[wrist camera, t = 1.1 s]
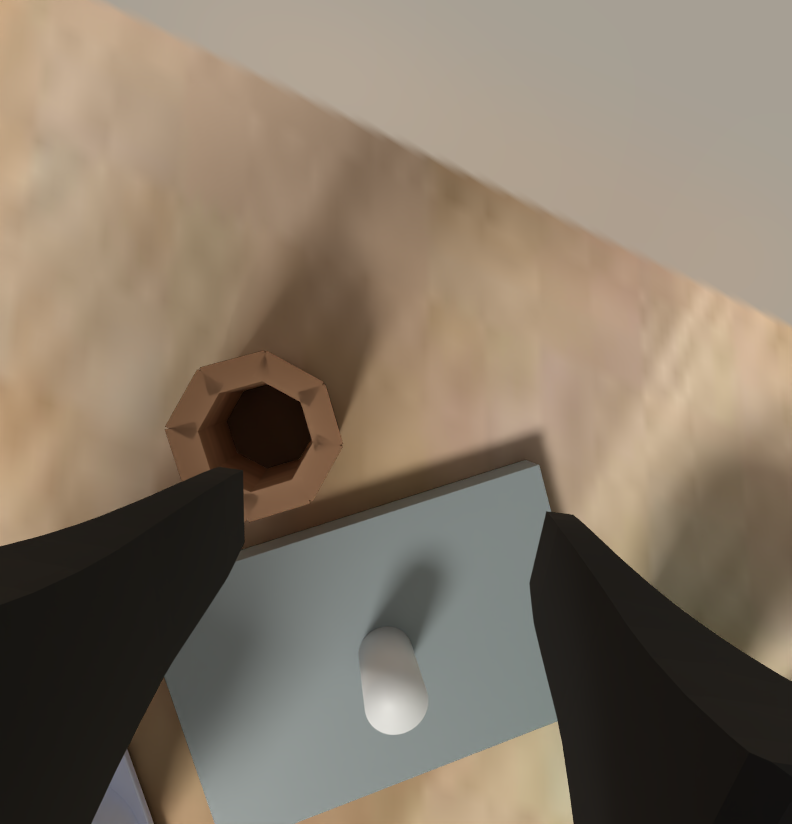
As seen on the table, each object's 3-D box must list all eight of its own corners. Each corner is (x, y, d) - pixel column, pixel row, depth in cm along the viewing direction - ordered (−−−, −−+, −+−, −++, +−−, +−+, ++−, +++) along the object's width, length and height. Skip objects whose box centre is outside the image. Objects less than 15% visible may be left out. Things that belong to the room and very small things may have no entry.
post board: (230, 820, 23) (204, 941, 18) (148, 579, 22) (96, 636, 17) (584, 685, 25) (648, 759, 20) (525, 459, 24) (577, 479, 19)
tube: (228, 503, 22) (200, 537, 17) (189, 382, 21) (148, 381, 16) (349, 466, 23) (356, 489, 18) (314, 348, 22) (311, 337, 17)
